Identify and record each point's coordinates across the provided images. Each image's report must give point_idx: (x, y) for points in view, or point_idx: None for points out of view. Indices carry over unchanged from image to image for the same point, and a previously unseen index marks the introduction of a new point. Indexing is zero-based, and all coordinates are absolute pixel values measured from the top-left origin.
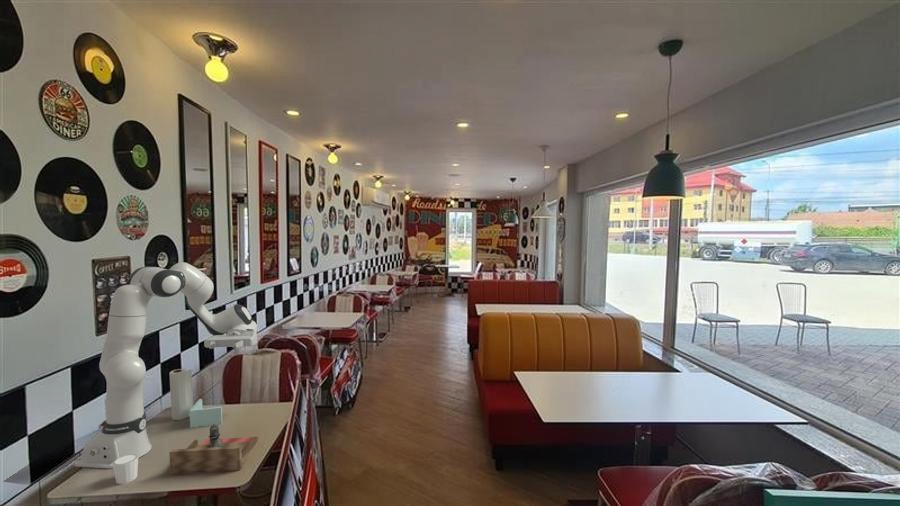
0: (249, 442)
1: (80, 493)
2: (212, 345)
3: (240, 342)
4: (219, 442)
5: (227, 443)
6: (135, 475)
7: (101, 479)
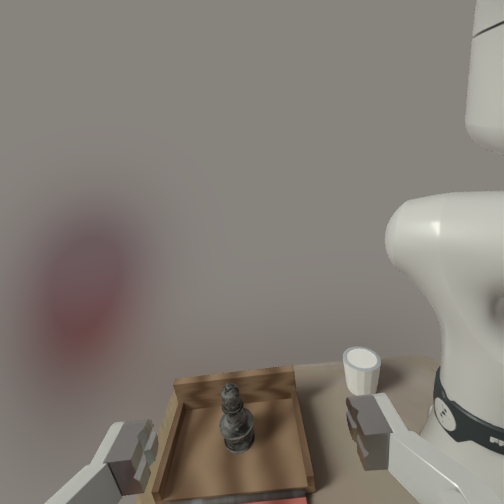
0: (174, 495)
1: (392, 357)
2: (349, 397)
3: (58, 497)
4: (225, 418)
5: (230, 491)
6: (347, 383)
7: (404, 383)
